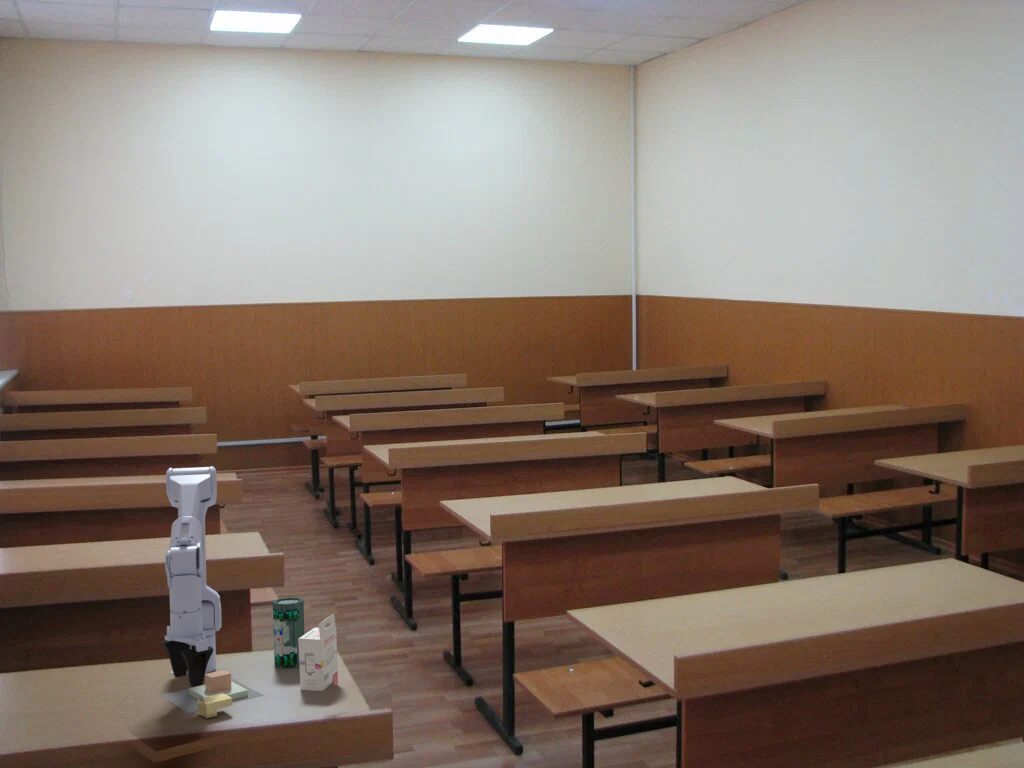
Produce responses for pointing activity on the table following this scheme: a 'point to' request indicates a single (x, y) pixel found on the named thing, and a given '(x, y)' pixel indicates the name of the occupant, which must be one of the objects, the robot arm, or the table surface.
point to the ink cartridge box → (318, 657)
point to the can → (287, 631)
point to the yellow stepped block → (212, 704)
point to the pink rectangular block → (218, 686)
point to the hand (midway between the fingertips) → (188, 680)
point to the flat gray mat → (190, 702)
